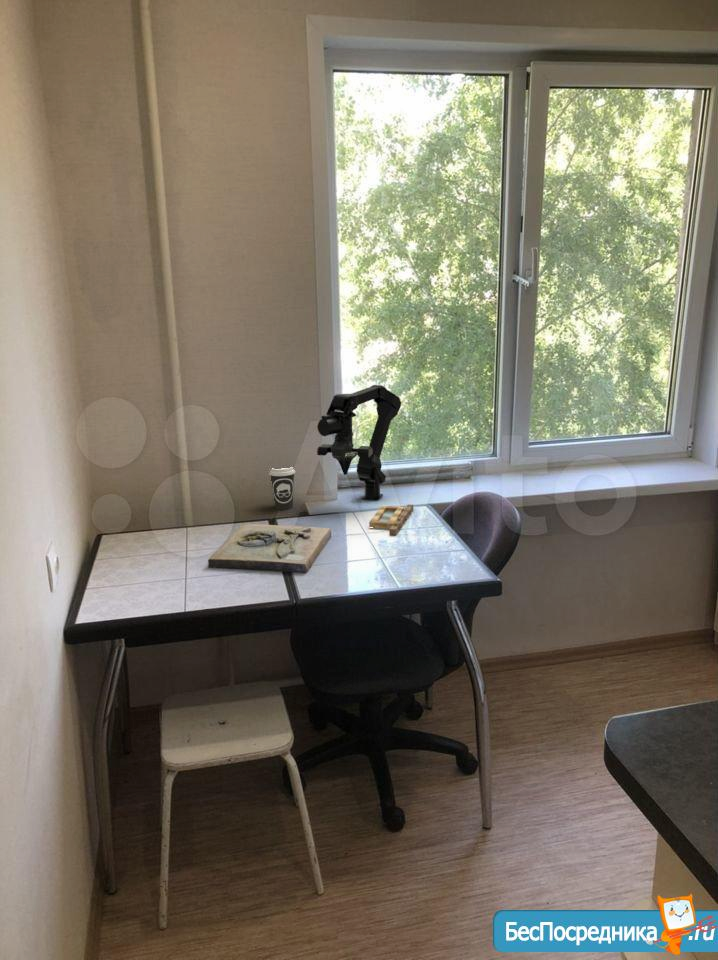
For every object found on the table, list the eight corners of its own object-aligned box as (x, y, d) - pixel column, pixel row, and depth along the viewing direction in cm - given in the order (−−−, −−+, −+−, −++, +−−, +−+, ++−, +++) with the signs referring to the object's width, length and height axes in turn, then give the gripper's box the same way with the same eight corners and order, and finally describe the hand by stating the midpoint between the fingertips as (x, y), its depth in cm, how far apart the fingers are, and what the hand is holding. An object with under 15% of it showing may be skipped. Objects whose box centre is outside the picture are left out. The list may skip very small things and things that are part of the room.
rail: (407, 509, 256) (407, 502, 255) (413, 510, 255) (413, 502, 255) (389, 535, 232) (389, 526, 231) (395, 535, 232) (395, 527, 231)
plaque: (241, 513, 237) (331, 516, 230) (243, 533, 239) (332, 537, 232) (203, 548, 208) (305, 553, 202) (206, 571, 210) (306, 576, 204)
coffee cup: (302, 505, 264) (300, 465, 260) (286, 513, 256) (283, 471, 252) (281, 501, 269) (279, 462, 265) (264, 509, 261) (262, 468, 257)
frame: (381, 511, 255) (381, 505, 255) (404, 512, 253) (404, 506, 253) (369, 528, 239) (369, 522, 238) (393, 529, 237) (393, 523, 236)
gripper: (310, 434, 248) (312, 479, 253) (363, 437, 243) (364, 482, 247) (321, 428, 259) (323, 470, 263) (372, 430, 253) (373, 473, 258)
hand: (345, 474), depth 257 cm, fingers closed
